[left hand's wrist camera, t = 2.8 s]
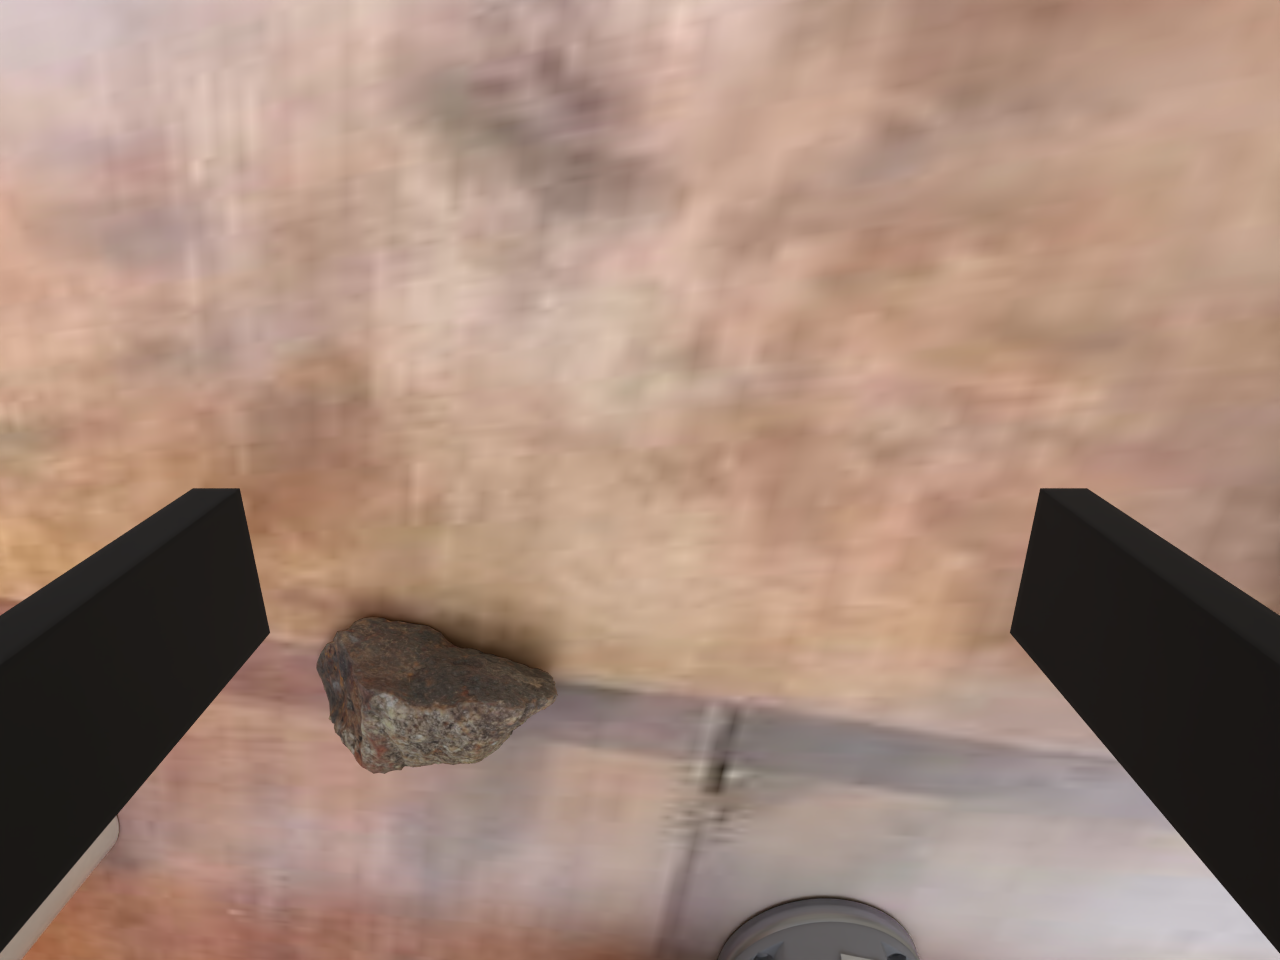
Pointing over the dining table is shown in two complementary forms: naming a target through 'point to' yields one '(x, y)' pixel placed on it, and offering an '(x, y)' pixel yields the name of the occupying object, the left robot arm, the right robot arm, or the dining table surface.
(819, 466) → the dining table surface
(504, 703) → the rock
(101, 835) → the jar
